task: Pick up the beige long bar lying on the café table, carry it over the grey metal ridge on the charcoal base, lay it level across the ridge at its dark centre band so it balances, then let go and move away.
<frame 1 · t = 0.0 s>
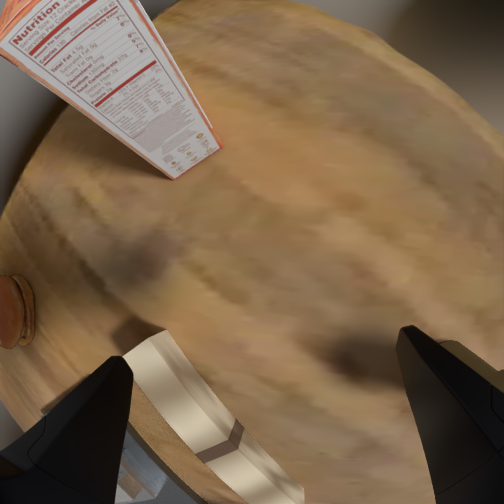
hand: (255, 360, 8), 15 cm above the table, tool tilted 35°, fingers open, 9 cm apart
burger: (20, 310, 27), on the table
beige long bar: (224, 431, 23), on the table
fulcrum: (123, 471, 23), on the table
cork: (443, 369, 21), on the table
cracker box: (167, 118, 26), on the table
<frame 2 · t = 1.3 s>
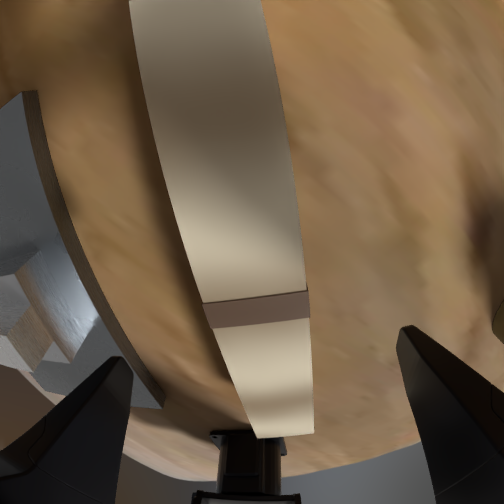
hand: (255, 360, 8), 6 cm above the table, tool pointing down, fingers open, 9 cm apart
beige long bar: (258, 259, 13), on the table
fulcrum: (27, 289, 15), on the table
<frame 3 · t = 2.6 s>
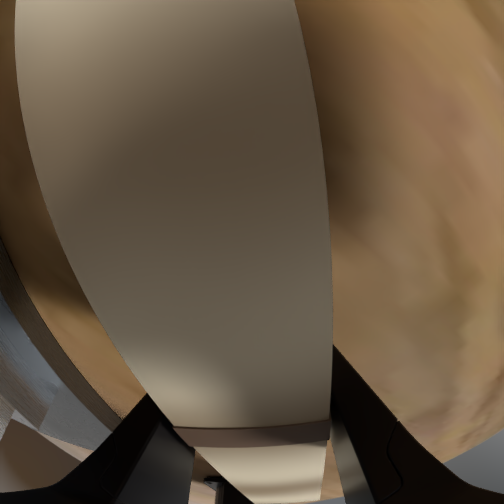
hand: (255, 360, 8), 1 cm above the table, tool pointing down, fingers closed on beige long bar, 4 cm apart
beige long bar: (256, 336, 9), on the table, touching gripper
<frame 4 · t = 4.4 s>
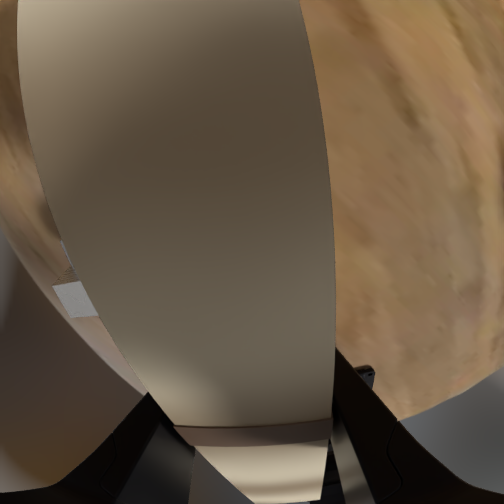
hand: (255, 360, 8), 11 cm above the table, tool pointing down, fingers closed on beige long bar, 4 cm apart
beige long bar: (257, 335, 9), point 10 cm above the table, touching gripper
fulcrum: (157, 242, 19), on the table
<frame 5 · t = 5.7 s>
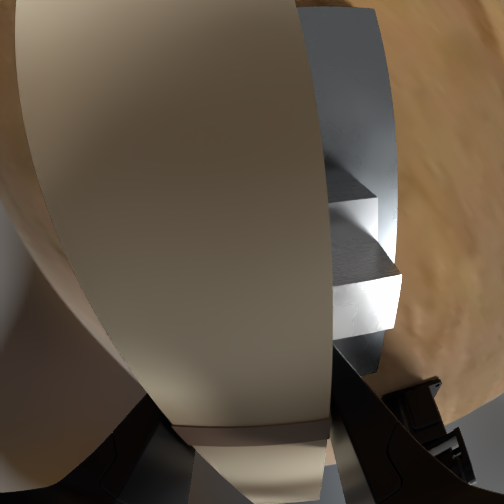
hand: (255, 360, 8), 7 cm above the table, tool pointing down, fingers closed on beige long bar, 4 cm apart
beige long bar: (255, 335, 9), point 6 cm above the table, touching gripper
fulcrum: (257, 244, 15), on the table
when the fingers open (7 cm above the table, at t = 6.6 s): beige long bar stays where it is, resting on fulcrum.
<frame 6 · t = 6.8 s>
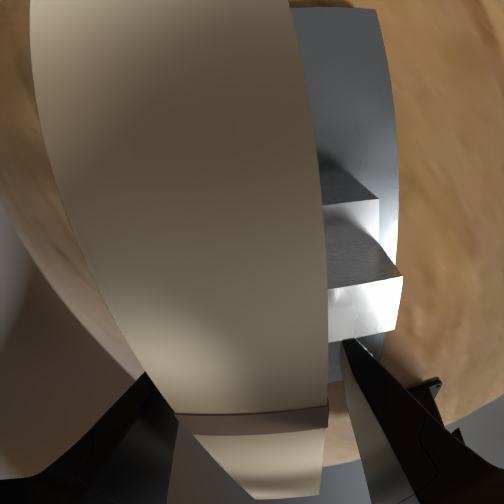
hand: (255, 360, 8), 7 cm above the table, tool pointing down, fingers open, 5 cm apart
beige long bar: (255, 327, 9), point 6 cm above the table, touching fulcrum
fulcrum: (257, 245, 15), on the table
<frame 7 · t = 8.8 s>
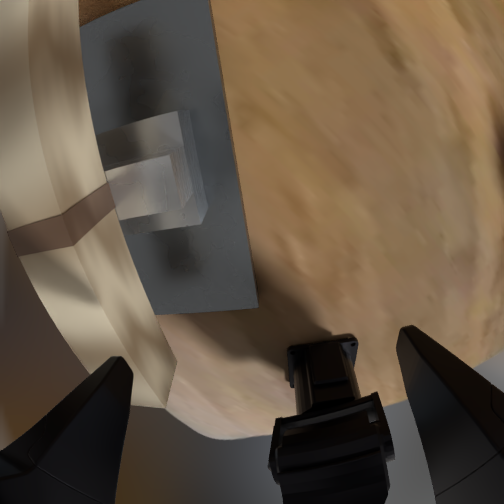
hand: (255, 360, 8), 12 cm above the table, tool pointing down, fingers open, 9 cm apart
beige long bar: (81, 203, 12), point 6 cm above the table, touching fulcrum
fulcrum: (130, 171, 17), on the table
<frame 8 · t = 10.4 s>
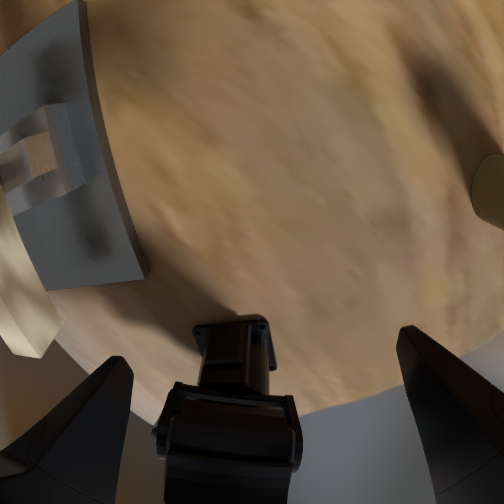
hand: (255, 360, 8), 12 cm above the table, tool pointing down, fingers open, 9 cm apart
fulcrum: (39, 161, 17), on the table
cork: (492, 187, 17), on the table
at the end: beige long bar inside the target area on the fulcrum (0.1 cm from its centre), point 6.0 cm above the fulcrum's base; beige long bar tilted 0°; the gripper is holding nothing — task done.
